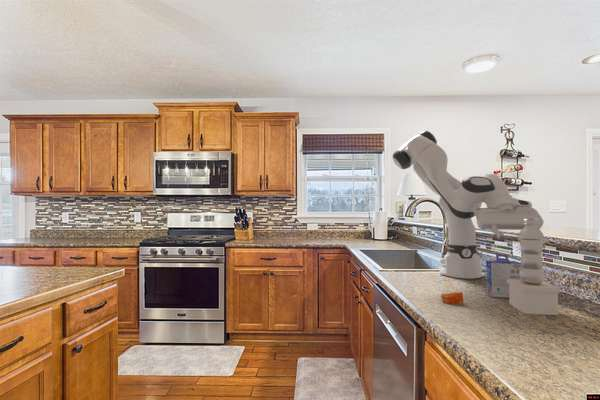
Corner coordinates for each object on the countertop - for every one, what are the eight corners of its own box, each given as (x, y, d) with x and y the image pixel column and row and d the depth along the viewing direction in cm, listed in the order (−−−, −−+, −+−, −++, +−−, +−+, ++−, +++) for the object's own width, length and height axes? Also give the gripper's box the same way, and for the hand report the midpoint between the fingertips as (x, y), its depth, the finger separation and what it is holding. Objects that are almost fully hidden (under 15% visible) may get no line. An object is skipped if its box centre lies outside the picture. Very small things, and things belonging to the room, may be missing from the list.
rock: (426, 299, 110) (426, 287, 110) (459, 297, 111) (458, 285, 112) (445, 310, 98) (444, 296, 99) (481, 308, 100) (481, 295, 100)
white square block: (507, 303, 102) (506, 279, 103) (541, 304, 101) (540, 280, 101) (523, 314, 93) (522, 287, 93) (561, 315, 91) (560, 288, 91)
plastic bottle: (516, 283, 97) (515, 219, 97) (522, 279, 101) (521, 218, 102) (542, 287, 92) (540, 219, 92) (547, 283, 97) (546, 218, 97)
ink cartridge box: (516, 294, 112) (515, 254, 113) (523, 299, 107) (522, 256, 107) (485, 293, 114) (485, 253, 115) (492, 297, 109) (491, 256, 109)
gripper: (474, 202, 115) (485, 231, 106) (535, 201, 112) (553, 231, 102) (470, 214, 120) (480, 242, 110) (529, 213, 116) (545, 243, 107)
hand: (516, 237), depth 106 cm, fingers open, 8 cm apart
